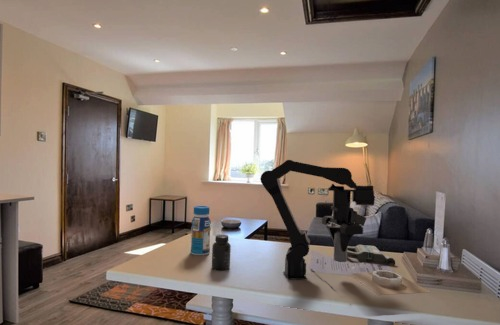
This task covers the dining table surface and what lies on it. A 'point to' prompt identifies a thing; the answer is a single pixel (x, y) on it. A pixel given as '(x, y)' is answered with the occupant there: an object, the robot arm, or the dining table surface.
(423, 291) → the tan square board
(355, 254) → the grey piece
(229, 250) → the supplement bottle
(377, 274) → the aluminium collar
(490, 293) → the dining table surface
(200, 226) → the beverage bottle
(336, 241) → the grey rounded plug
